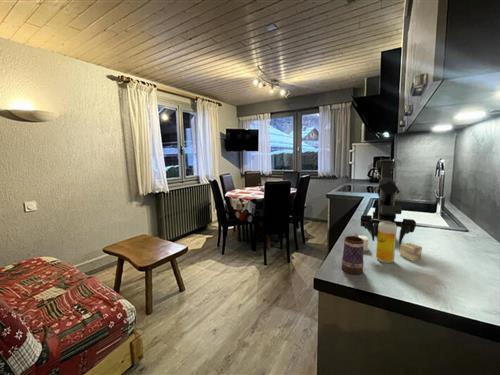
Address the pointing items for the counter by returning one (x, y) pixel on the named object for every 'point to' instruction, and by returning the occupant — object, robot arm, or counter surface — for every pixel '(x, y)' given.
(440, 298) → the counter surface
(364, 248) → the cream plastic block
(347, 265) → the mug
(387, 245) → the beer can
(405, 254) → the birch block
